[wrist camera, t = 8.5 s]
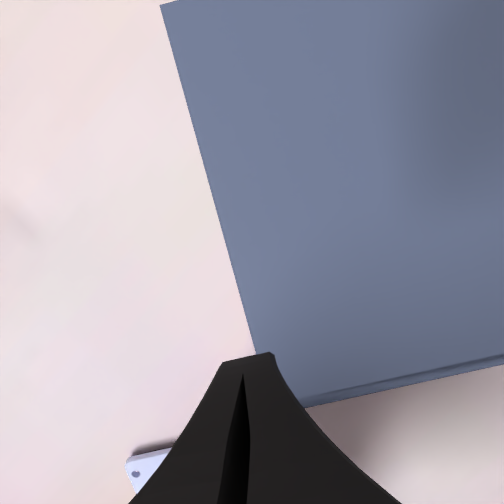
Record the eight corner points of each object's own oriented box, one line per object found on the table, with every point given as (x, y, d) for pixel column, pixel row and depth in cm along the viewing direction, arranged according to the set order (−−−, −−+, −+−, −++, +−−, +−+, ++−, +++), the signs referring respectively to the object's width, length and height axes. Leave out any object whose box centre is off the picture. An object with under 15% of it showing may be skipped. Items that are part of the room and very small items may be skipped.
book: (501, 325, 22) (540, 356, 19) (268, 377, 22) (273, 415, 19) (480, -58, 16) (531, -97, 13) (173, 25, 17) (159, 4, 14)
